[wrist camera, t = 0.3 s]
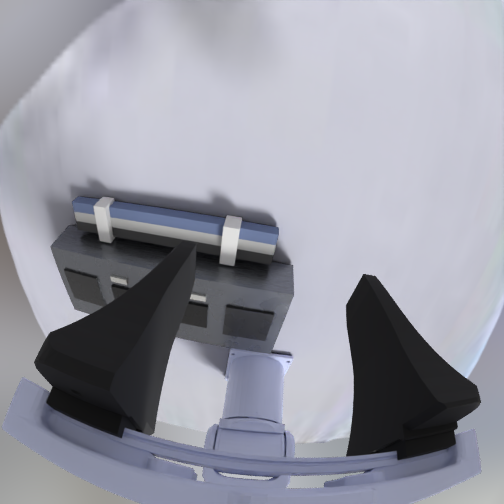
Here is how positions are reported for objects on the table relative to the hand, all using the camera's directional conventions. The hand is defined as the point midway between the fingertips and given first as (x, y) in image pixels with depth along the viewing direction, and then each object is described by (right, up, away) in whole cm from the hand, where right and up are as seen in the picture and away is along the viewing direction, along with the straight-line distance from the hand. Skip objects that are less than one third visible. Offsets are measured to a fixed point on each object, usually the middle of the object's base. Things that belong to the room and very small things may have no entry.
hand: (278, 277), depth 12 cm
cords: (-8, +3, +11) cm, 14 cm away
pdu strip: (-9, -2, +15) cm, 17 cm away
